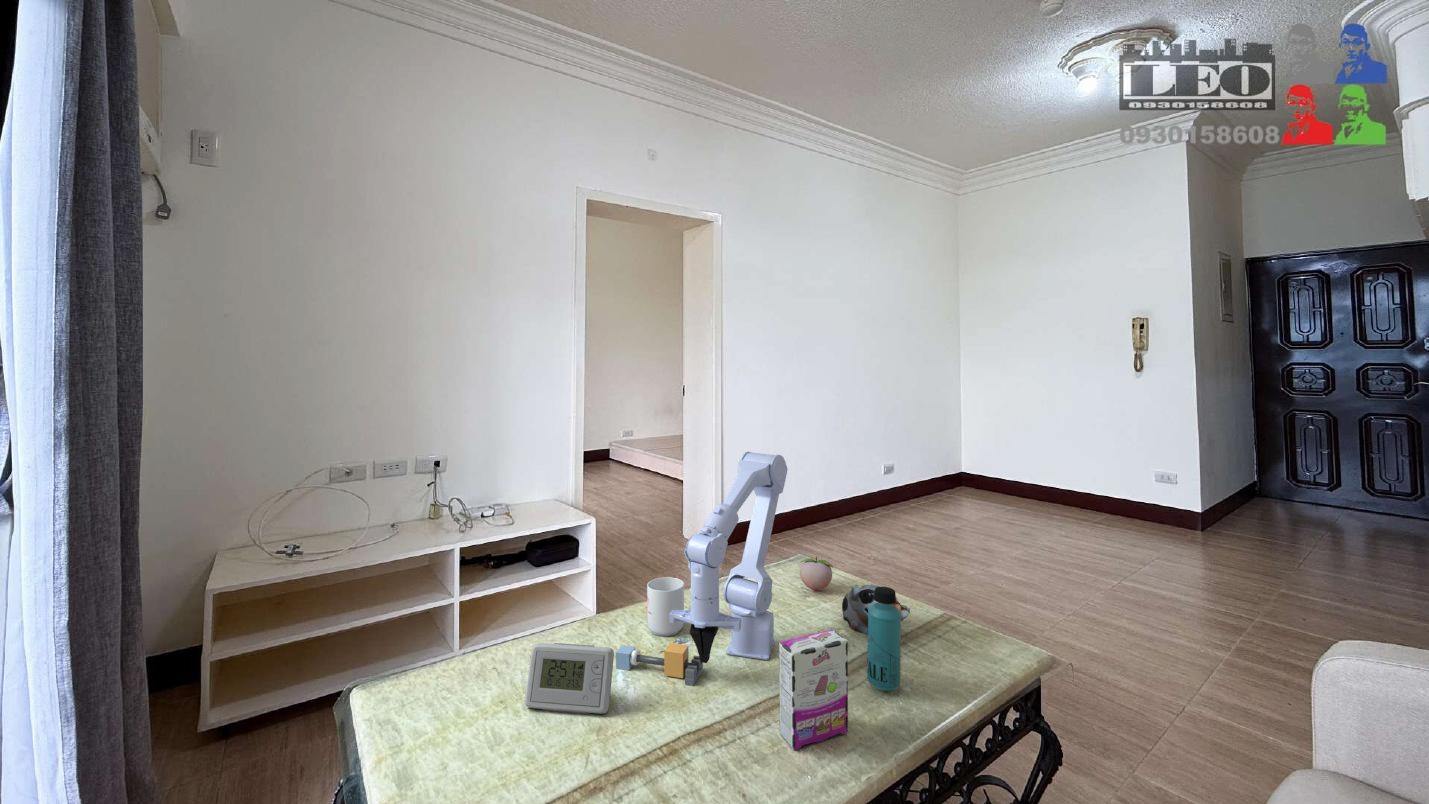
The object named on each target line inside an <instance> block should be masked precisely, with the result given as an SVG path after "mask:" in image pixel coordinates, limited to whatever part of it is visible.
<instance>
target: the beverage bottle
mask: <svg viewBox="0 0 1429 804" xmlns="http://www.w3.org/2000/svg"><path fill="white" fill-rule="evenodd" d="M896 597H897V596H896V590H894V589H893V588H892V587H888V586H880V587H877V588H875V591H874V600H875V601H876V602H878V603H875V604H873V605H872V606H871V607H870V608H869V609H868V622H867V623H868V629H867V633H868V634H866V635H867V636H866V637H867V646H866V647H867V649H866V652H867V658H866V663H867V670H866V677H867V681H868V683H869V684H870V686H872V687H874V688H876V689H878V690H882V691H894V690H897V689H898V688H899V687H900V684H901V675H902V674H901V673H902V668H901V667H902V659H901V658H902V650H901V640H902V639H901V633H902V631H901V630H902V621H901V616H902V615H901V612H900V611H899V610H898V609H897V608H896V607H895V606H894V605H892V604H894V603H895V602H896Z"/></svg>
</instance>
